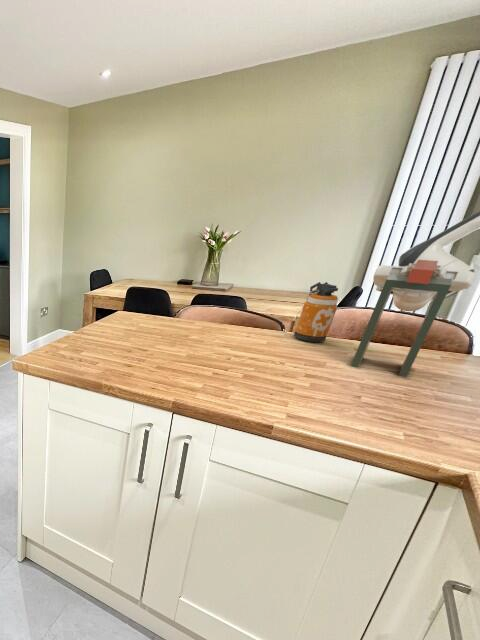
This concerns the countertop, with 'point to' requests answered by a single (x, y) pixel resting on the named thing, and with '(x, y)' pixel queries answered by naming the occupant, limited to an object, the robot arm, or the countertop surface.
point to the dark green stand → (434, 285)
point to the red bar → (422, 271)
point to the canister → (317, 313)
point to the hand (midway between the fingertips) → (425, 266)
